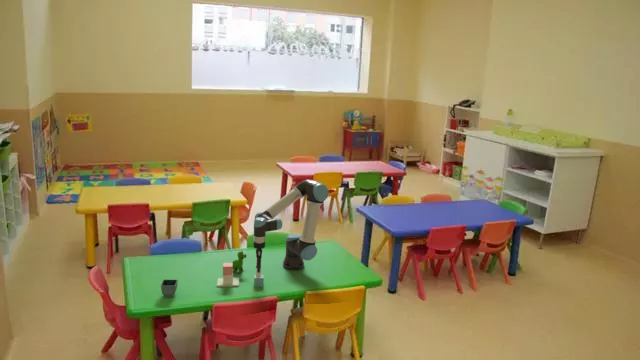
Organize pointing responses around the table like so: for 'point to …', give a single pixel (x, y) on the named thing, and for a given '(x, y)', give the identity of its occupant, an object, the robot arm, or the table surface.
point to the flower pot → (169, 287)
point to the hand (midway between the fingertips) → (258, 272)
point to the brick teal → (258, 281)
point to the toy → (239, 262)
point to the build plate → (235, 283)
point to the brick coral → (227, 268)
